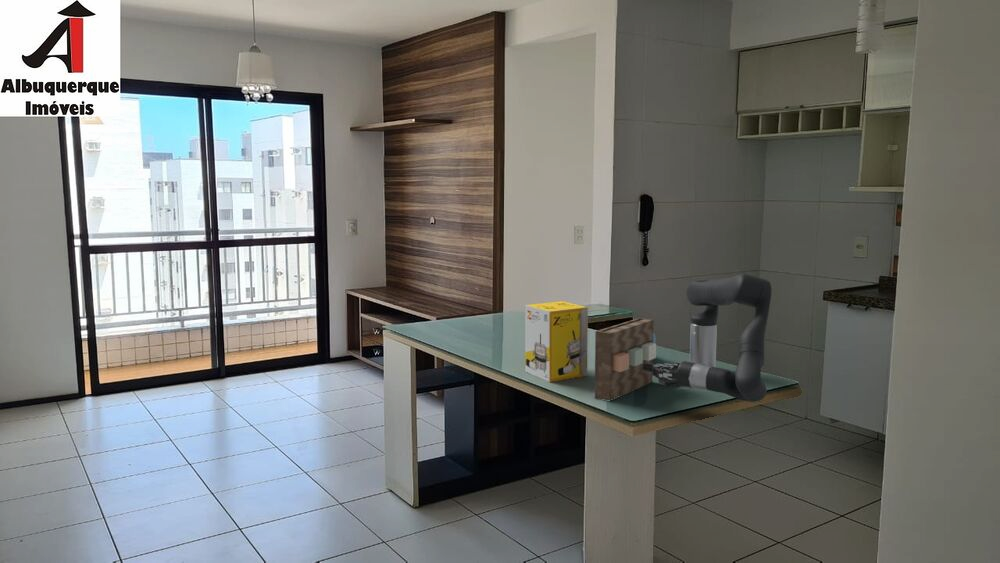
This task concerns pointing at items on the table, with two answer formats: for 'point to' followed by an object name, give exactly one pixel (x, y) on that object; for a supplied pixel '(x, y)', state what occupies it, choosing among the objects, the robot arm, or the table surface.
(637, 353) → the sage key
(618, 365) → the terracotta key
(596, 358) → the keypad panel
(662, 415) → the table surface
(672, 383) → the walkie-talkie
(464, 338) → the table surface
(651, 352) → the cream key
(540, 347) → the packaging box
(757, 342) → the robot arm
